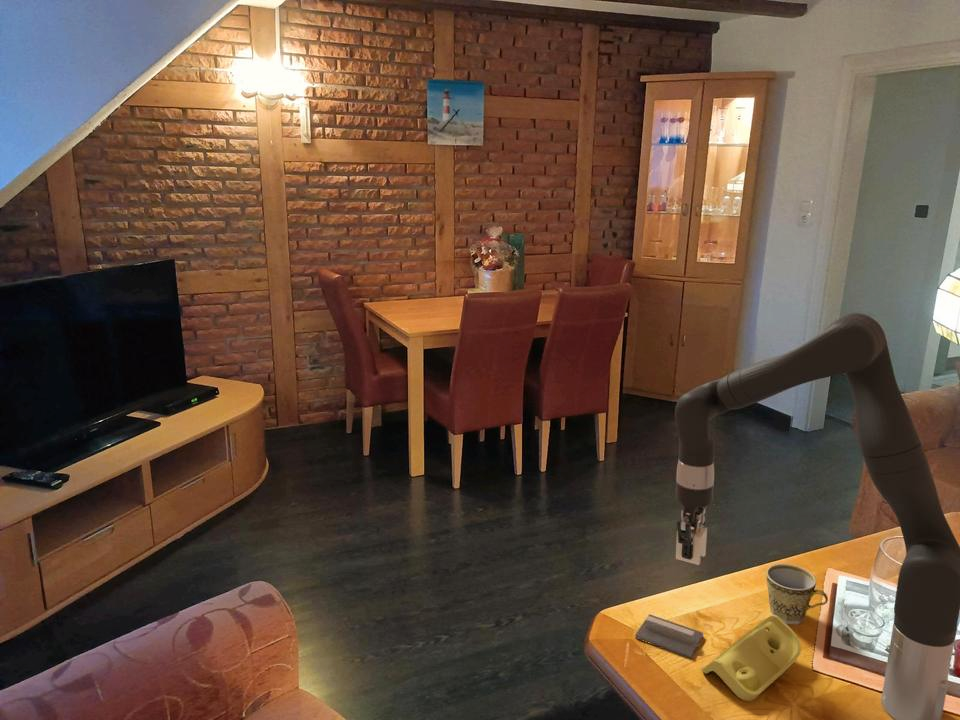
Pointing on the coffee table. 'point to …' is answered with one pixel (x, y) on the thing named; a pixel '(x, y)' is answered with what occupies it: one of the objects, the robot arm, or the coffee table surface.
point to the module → (694, 546)
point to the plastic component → (757, 658)
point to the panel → (670, 635)
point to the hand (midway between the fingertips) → (691, 551)
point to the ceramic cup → (791, 592)
